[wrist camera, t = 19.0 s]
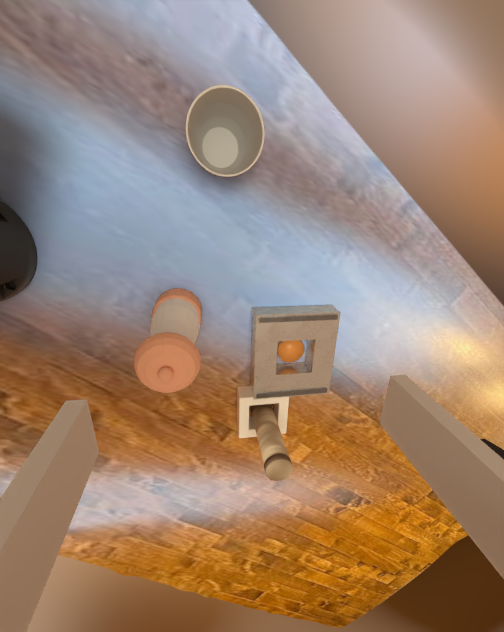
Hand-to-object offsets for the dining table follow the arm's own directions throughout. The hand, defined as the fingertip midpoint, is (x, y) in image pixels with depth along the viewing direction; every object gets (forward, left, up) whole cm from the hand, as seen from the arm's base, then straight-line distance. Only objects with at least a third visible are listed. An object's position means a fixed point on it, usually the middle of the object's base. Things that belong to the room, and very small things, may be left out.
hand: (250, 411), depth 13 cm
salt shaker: (-6, -8, -35) cm, 36 cm away
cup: (+1, +15, -35) cm, 38 cm away
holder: (+8, -28, -35) cm, 45 cm away
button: (+13, -16, -35) cm, 40 cm away
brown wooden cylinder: (+8, -28, -35) cm, 45 cm away
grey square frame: (+13, -16, -35) cm, 40 cm away
